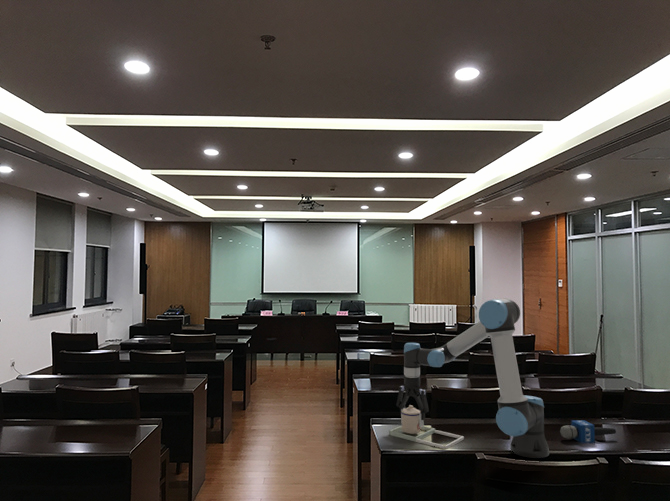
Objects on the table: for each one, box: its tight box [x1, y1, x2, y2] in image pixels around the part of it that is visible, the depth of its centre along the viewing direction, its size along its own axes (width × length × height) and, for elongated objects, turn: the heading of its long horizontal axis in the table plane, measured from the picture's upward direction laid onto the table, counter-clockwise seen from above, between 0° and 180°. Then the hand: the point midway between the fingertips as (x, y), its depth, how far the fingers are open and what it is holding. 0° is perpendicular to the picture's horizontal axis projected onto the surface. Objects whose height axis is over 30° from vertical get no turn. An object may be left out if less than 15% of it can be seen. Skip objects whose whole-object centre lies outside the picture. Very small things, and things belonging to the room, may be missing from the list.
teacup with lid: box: [401, 404, 421, 435], centre depth 229 cm, size 12×9×12 cm
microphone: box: [559, 419, 617, 444], centre depth 220 cm, size 8×8×25 cm
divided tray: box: [388, 425, 465, 450], centre depth 223 cm, size 29×17×2 cm, turn 49°
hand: (412, 424), depth 228 cm, fingers open, 9 cm apart
